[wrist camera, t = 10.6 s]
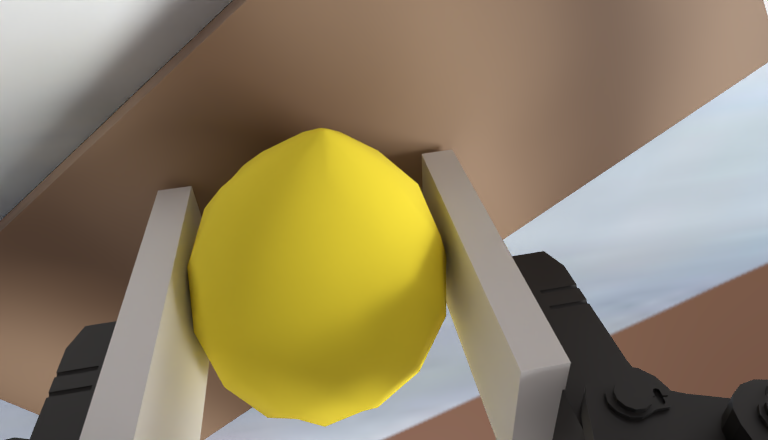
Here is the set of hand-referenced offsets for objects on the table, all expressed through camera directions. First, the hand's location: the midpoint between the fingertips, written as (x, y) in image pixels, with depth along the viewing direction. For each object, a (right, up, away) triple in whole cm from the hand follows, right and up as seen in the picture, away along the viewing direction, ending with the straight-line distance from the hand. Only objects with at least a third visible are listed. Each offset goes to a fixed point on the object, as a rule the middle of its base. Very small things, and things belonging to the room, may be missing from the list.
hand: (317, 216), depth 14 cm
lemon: (0, 0, 0) cm, 0 cm away
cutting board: (0, +1, +1) cm, 1 cm away
